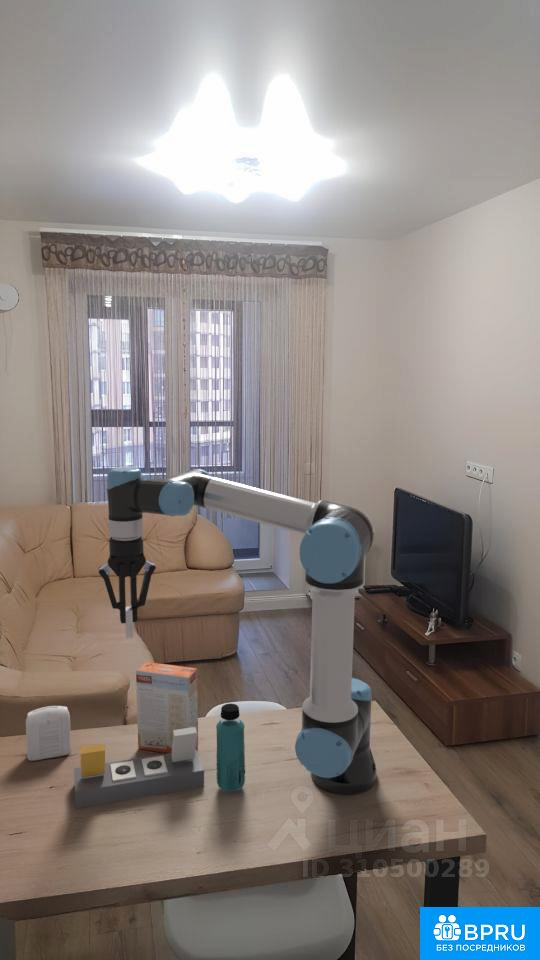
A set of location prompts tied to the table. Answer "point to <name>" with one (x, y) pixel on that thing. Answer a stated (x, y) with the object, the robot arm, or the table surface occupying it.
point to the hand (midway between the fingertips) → (129, 635)
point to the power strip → (137, 779)
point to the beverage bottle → (230, 749)
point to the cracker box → (165, 704)
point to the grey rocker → (184, 744)
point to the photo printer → (48, 733)
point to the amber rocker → (92, 760)
